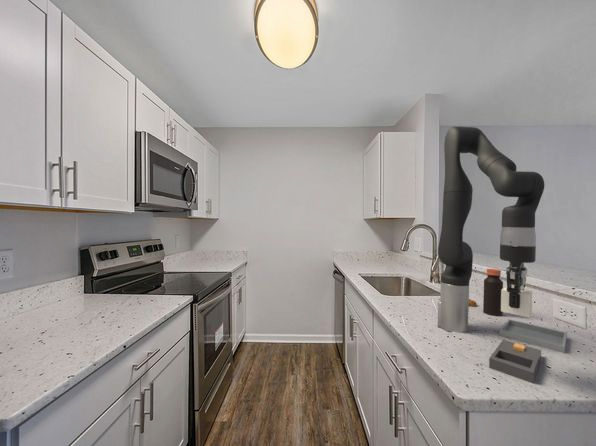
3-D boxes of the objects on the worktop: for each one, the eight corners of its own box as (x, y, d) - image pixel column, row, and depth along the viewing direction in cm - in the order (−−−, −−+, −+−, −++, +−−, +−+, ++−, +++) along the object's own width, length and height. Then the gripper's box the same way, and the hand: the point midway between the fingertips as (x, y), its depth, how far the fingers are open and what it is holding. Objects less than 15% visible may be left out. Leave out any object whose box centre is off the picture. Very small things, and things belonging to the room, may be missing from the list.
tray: (499, 336, 91) (499, 329, 91) (508, 325, 102) (508, 319, 102) (564, 354, 79) (564, 346, 79) (566, 339, 90) (566, 332, 90)
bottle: (481, 314, 114) (482, 269, 114) (485, 311, 119) (486, 267, 118) (500, 318, 109) (501, 271, 109) (503, 315, 113) (505, 270, 113)
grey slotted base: (489, 367, 71) (489, 355, 71) (502, 347, 83) (503, 336, 83) (533, 383, 65) (533, 369, 64) (541, 358, 77) (541, 347, 77)
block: (500, 311, 72) (501, 289, 72) (504, 307, 75) (504, 287, 75) (529, 317, 67) (530, 294, 67) (531, 313, 70) (532, 291, 70)
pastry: (475, 304, 129) (476, 297, 128) (477, 308, 123) (477, 300, 123) (453, 301, 133) (454, 294, 133) (454, 305, 127) (454, 297, 127)
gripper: (505, 242, 79) (503, 298, 79) (494, 243, 69) (493, 307, 69) (538, 243, 73) (537, 304, 73) (532, 246, 64) (530, 315, 64)
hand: (515, 305), depth 71 cm, fingers closed on block, 4 cm apart
